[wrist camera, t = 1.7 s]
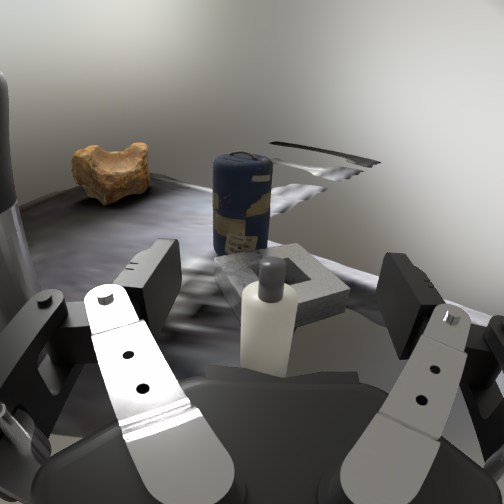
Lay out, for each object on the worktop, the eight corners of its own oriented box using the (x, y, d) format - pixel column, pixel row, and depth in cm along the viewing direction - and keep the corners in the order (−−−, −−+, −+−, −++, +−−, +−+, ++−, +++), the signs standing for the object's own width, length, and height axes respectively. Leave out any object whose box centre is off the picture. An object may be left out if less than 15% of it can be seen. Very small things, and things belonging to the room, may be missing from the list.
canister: (243, 236, 63) (246, 144, 54) (278, 254, 56) (286, 153, 48) (202, 250, 57) (200, 149, 48) (236, 272, 51) (239, 159, 42)
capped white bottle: (250, 410, 28) (258, 284, 21) (233, 378, 32) (234, 254, 25) (290, 396, 30) (314, 272, 23) (271, 367, 34) (284, 245, 26)
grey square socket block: (251, 340, 37) (253, 314, 35) (214, 280, 48) (214, 257, 47) (344, 312, 42) (350, 288, 41) (294, 264, 54) (297, 243, 52)
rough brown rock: (76, 218, 70) (69, 161, 63) (74, 195, 82) (70, 146, 74) (161, 204, 82) (161, 149, 74) (147, 184, 93) (147, 137, 86)
